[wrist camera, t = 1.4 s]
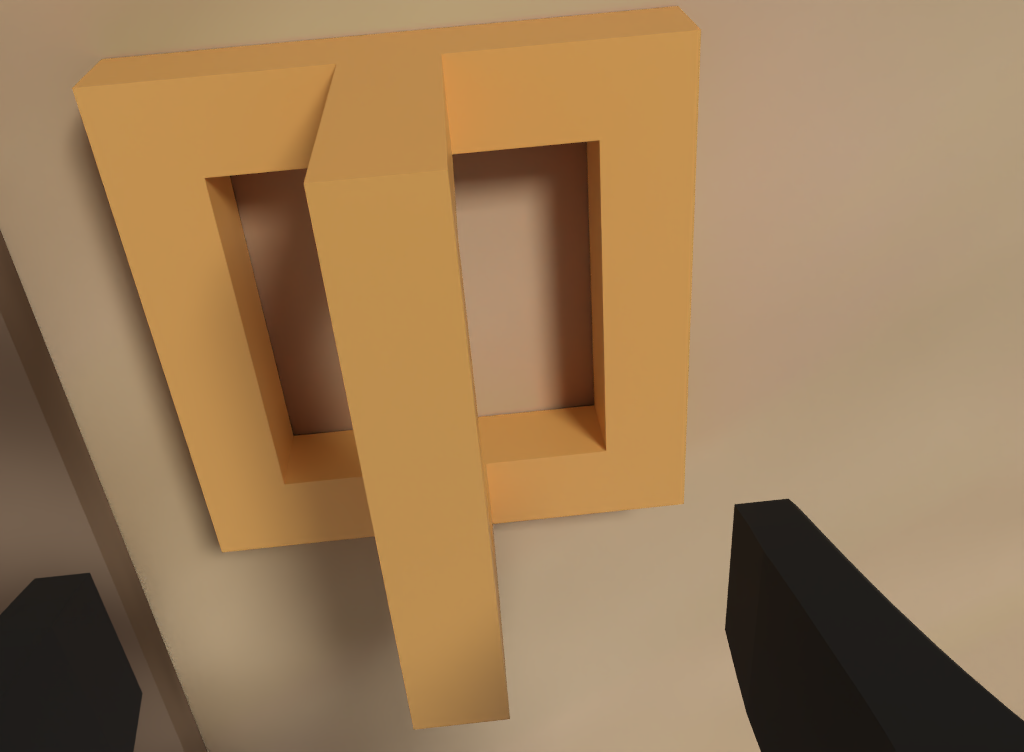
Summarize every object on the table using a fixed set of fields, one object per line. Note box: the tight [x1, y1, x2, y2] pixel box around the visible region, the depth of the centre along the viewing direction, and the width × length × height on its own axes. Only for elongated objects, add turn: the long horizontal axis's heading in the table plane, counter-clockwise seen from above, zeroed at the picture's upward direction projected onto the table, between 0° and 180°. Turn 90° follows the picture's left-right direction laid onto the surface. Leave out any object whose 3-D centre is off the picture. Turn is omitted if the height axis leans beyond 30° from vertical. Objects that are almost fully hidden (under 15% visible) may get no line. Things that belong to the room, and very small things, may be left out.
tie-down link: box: [72, 6, 701, 730], centre depth 15 cm, size 9×9×6 cm
